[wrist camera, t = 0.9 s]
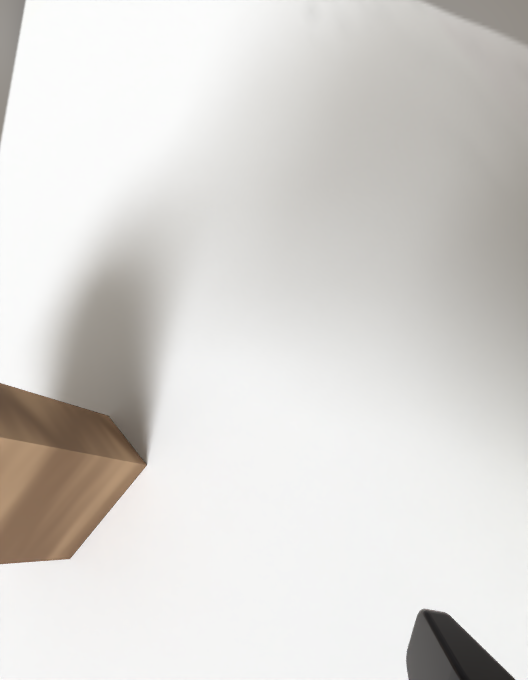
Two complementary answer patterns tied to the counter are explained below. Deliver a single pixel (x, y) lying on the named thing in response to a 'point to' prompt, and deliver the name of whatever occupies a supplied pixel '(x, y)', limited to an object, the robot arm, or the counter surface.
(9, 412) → the walnut block
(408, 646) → the robot arm
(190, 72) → the counter surface
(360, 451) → the counter surface
